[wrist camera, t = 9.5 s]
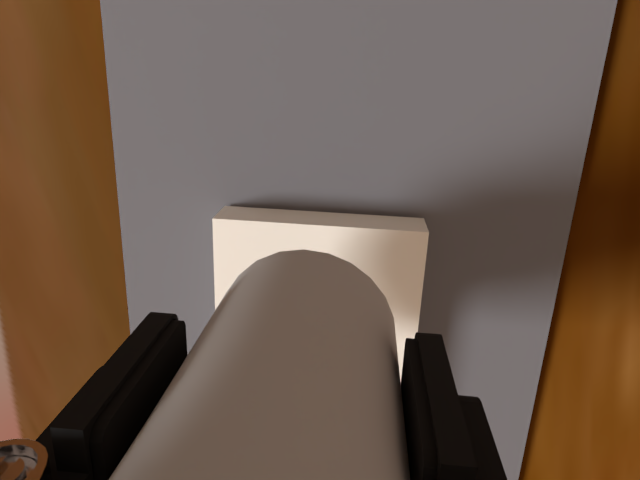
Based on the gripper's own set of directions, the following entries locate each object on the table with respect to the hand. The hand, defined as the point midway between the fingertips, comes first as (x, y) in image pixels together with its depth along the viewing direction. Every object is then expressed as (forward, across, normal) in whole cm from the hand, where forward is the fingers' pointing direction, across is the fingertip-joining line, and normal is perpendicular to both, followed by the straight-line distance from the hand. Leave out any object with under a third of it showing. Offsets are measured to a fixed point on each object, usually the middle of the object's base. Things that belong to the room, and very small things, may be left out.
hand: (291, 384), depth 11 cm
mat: (+8, 0, 0) cm, 8 cm away
